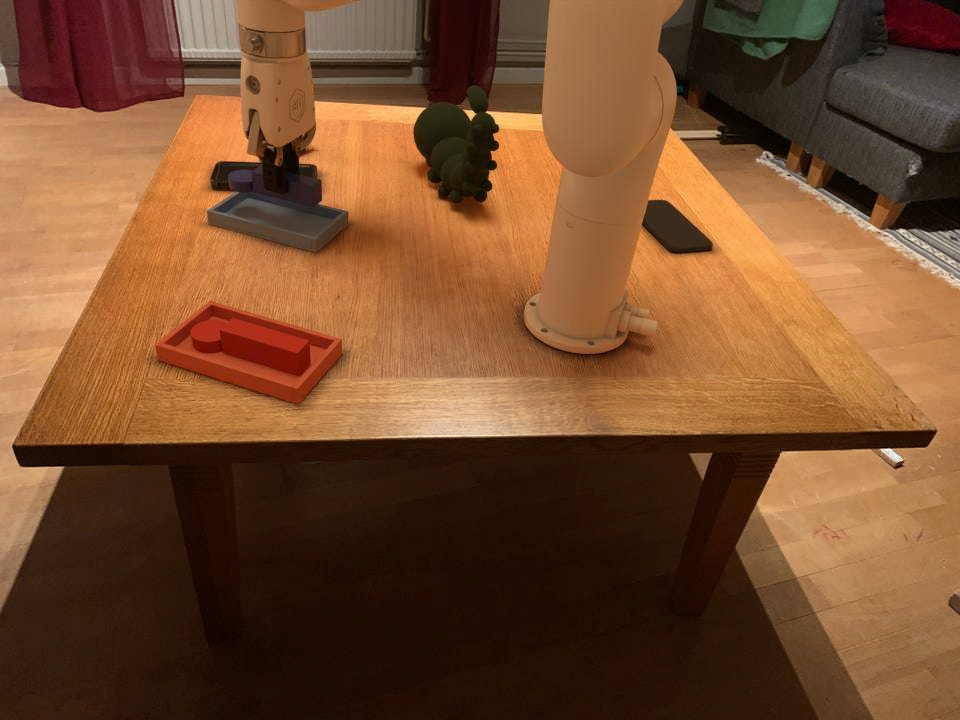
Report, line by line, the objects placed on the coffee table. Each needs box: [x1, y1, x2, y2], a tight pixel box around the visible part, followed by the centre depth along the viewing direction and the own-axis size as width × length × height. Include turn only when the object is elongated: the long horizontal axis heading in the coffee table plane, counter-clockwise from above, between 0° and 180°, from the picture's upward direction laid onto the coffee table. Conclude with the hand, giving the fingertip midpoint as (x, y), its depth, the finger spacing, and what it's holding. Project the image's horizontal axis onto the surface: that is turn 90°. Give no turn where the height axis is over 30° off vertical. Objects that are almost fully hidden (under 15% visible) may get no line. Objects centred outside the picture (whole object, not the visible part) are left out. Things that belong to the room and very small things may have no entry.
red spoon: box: [191, 318, 311, 376], centre depth 76 cm, size 13×4×3 cm, turn 71°
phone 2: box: [642, 199, 714, 253], centre depth 111 cm, size 7×1×15 cm
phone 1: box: [209, 160, 318, 191], centre depth 111 cm, size 8×1×15 cm
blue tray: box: [206, 191, 350, 254], centre depth 100 cm, size 16×9×2 cm, turn 71°
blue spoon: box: [228, 166, 323, 207], centre depth 98 cm, size 13×4×3 cm, turn 71°
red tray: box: [154, 300, 343, 405], centre depth 77 cm, size 16×9×2 cm, turn 71°
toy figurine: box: [412, 85, 500, 205], centre depth 111 cm, size 9×19×25 cm
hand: (282, 186), depth 97 cm, fingers closed on blue spoon, 2 cm apart
